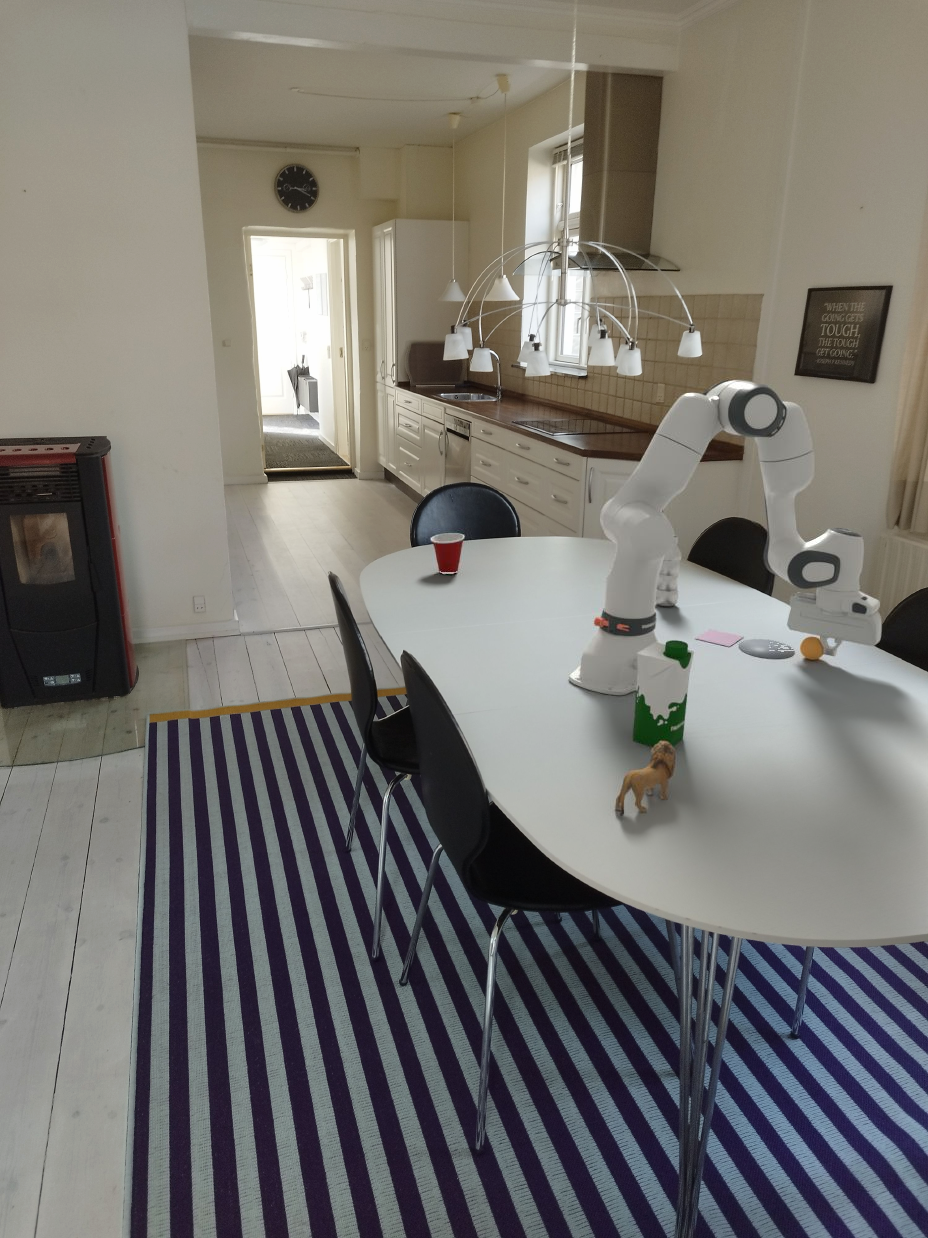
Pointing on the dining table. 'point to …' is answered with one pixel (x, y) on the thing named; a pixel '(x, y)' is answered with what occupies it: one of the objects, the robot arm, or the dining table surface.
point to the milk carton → (662, 692)
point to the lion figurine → (649, 776)
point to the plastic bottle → (669, 577)
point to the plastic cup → (448, 551)
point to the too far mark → (719, 637)
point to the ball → (811, 648)
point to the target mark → (764, 648)
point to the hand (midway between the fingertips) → (829, 654)
